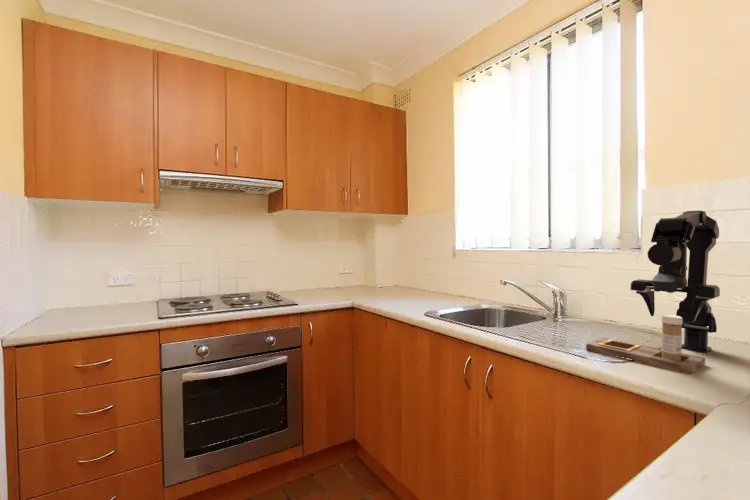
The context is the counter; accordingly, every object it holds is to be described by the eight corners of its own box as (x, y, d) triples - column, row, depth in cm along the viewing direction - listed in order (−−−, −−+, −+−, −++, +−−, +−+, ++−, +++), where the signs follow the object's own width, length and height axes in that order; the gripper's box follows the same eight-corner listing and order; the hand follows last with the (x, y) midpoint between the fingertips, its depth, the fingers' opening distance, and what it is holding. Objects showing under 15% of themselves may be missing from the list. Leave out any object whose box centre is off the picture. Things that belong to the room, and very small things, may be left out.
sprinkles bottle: (671, 360, 107) (672, 314, 106) (685, 366, 102) (687, 317, 102) (656, 361, 107) (657, 314, 106) (670, 366, 102) (671, 317, 101)
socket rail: (603, 343, 124) (603, 336, 124) (704, 364, 103) (705, 356, 103) (586, 350, 117) (586, 342, 117) (691, 374, 96) (691, 365, 96)
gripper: (623, 263, 106) (622, 317, 107) (709, 267, 91) (707, 330, 92) (638, 260, 113) (637, 311, 113) (721, 264, 97) (719, 323, 98)
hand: (672, 318), depth 104 cm, fingers open, 9 cm apart
